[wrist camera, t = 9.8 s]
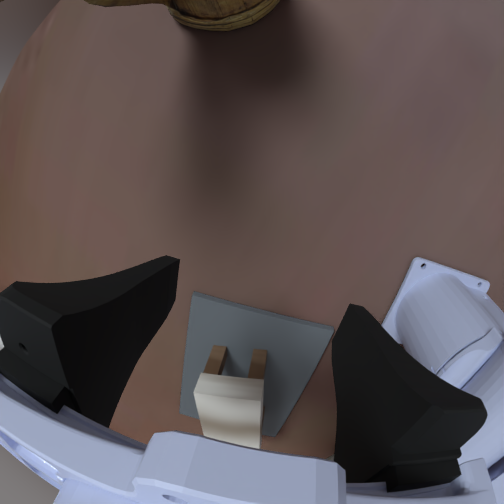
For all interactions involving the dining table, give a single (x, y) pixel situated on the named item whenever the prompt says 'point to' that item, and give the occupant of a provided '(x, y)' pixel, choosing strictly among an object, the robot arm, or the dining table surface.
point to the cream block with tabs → (232, 400)
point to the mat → (241, 349)
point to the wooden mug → (206, 11)
